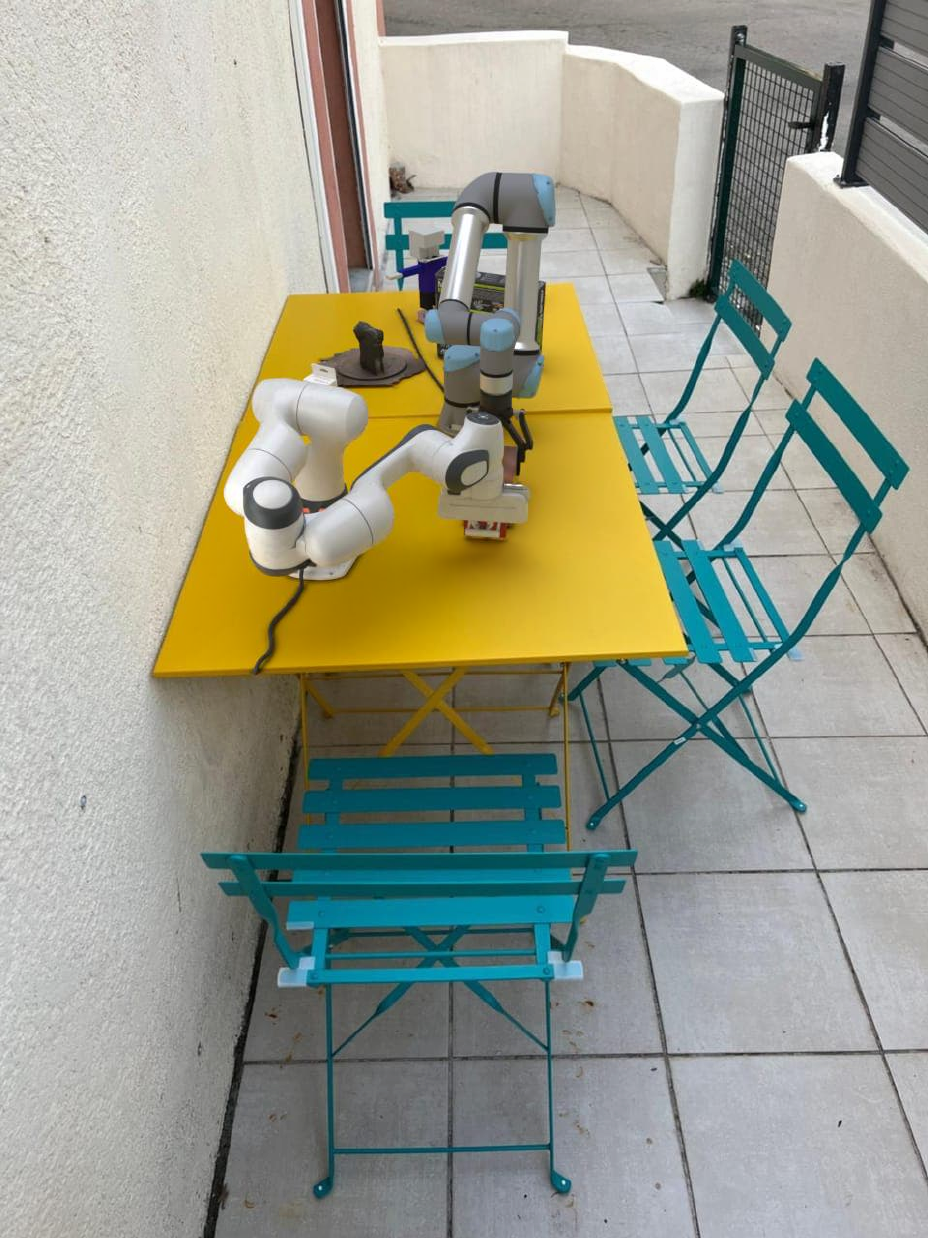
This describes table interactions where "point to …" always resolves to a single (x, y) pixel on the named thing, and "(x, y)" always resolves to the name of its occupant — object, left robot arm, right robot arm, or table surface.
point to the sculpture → (372, 360)
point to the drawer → (496, 530)
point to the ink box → (322, 375)
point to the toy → (424, 264)
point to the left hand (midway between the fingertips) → (482, 534)
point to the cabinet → (510, 466)
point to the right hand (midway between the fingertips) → (494, 471)
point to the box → (492, 301)
